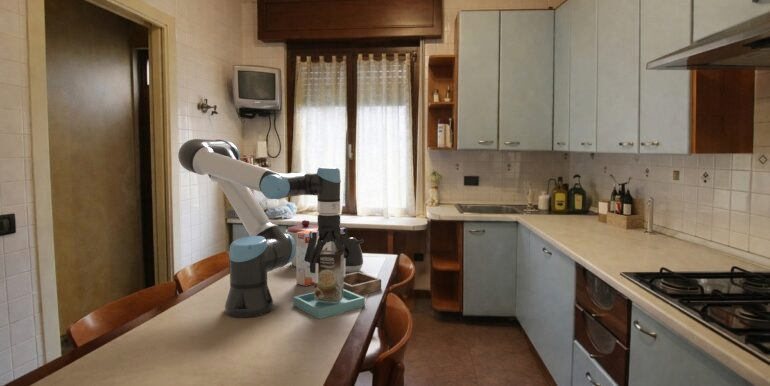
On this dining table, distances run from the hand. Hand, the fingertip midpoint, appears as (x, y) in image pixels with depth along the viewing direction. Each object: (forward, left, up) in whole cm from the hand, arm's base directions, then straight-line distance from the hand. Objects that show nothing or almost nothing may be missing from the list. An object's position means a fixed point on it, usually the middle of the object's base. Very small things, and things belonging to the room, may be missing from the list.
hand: (329, 279), depth 145 cm
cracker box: (+11, +27, -9) cm, 31 cm away
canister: (+22, +52, -9) cm, 57 cm away
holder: (+18, +9, -9) cm, 22 cm away
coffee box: (0, 0, -7) cm, 7 cm away
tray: (0, 0, -9) cm, 9 cm away
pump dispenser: (+32, +30, -9) cm, 45 cm away
